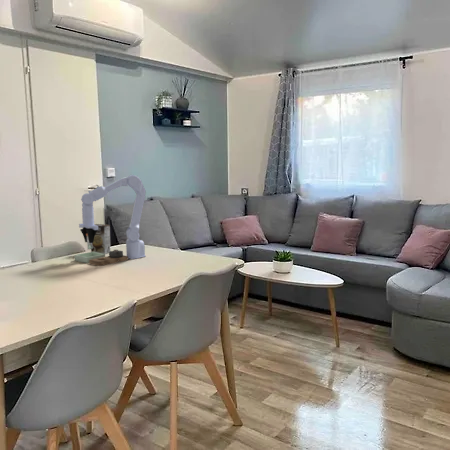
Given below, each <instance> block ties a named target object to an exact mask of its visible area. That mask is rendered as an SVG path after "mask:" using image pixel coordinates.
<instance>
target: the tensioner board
mask: <svg viewBox="0 0 450 450" xmlns="http://www.w3.org/2000/svg"><path fill="white" fill-rule="evenodd" d="M128 260H129V258H128V256H127V255H124V252H123V250H119V249H113V250H110V252H109V253H108V256H105V257H102V258H96V259H91V260H89V263H88V264H90V265H94V266H97V267H98V266H99V267H100V266H105V265H110V264H115V263H119V262H120V263H121V262H125V261H128Z"/></svg>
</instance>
